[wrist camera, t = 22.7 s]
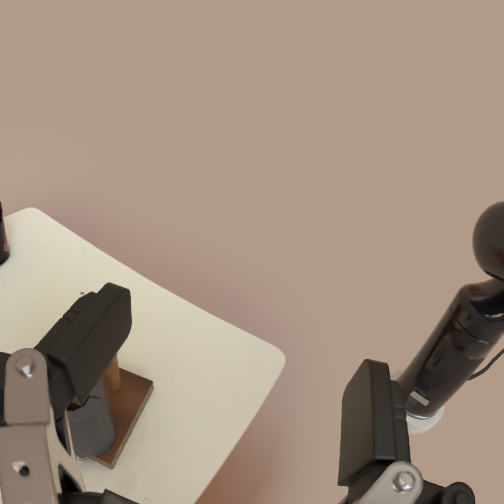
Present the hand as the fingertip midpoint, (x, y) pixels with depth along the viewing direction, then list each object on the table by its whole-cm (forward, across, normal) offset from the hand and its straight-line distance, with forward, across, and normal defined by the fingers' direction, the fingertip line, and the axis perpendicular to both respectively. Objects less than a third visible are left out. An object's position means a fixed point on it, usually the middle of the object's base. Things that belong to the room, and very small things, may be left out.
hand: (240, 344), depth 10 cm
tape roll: (+3, +13, +24) cm, 28 cm away
